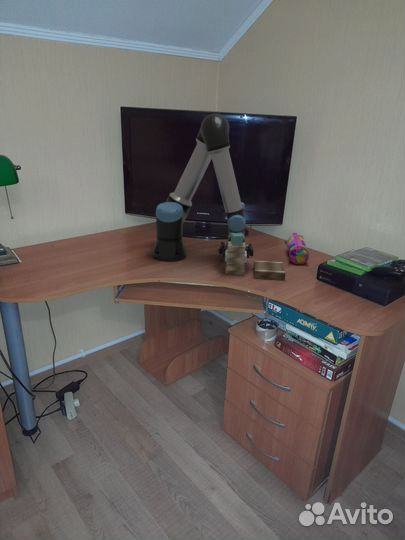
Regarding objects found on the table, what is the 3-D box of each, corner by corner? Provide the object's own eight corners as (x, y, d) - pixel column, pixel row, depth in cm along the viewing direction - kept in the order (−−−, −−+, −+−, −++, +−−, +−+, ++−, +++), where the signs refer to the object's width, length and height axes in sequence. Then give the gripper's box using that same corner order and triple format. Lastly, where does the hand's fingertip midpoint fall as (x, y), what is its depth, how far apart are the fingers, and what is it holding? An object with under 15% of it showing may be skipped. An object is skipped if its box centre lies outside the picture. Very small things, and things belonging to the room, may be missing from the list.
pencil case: (283, 249, 191) (285, 231, 187) (302, 250, 190) (305, 233, 186) (287, 265, 171) (290, 245, 167) (309, 266, 170) (312, 247, 166)
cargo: (233, 245, 154) (233, 236, 153) (230, 242, 158) (231, 233, 157) (242, 245, 155) (243, 236, 154) (240, 242, 159) (240, 233, 157)
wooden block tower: (224, 274, 158) (226, 246, 154) (225, 267, 165) (227, 241, 160) (244, 275, 158) (246, 247, 153) (244, 269, 164) (246, 242, 159)
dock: (254, 278, 155) (255, 270, 154) (253, 267, 166) (254, 260, 165) (284, 280, 154) (285, 272, 153) (281, 269, 165) (282, 262, 164)
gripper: (257, 250, 176) (260, 269, 154) (214, 247, 177) (210, 265, 156) (259, 234, 173) (261, 251, 151) (214, 232, 174) (211, 248, 153)
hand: (235, 258), depth 154 cm, fingers closed on wooden block tower, 7 cm apart
